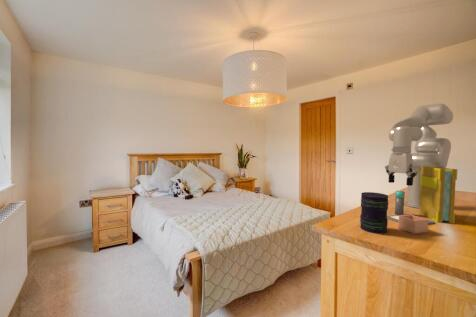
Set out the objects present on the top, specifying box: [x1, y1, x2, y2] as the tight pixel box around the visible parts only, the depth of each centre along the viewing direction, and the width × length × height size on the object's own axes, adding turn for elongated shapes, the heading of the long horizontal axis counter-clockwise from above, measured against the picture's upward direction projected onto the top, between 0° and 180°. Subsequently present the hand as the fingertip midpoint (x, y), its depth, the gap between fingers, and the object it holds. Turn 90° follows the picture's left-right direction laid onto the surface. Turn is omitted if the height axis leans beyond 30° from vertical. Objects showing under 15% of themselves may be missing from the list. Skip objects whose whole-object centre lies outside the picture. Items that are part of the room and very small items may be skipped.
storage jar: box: [359, 191, 389, 235], centre depth 92 cm, size 10×10×15 cm
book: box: [418, 166, 459, 224], centre depth 108 cm, size 17×7×25 cm, turn 168°
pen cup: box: [398, 214, 429, 235], centre depth 91 cm, size 7×7×6 cm
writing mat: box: [387, 213, 436, 225], centre depth 104 cm, size 15×12×1 cm
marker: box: [394, 190, 406, 215], centre depth 114 cm, size 4×4×12 cm
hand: (400, 183), depth 113 cm, fingers open, 9 cm apart
